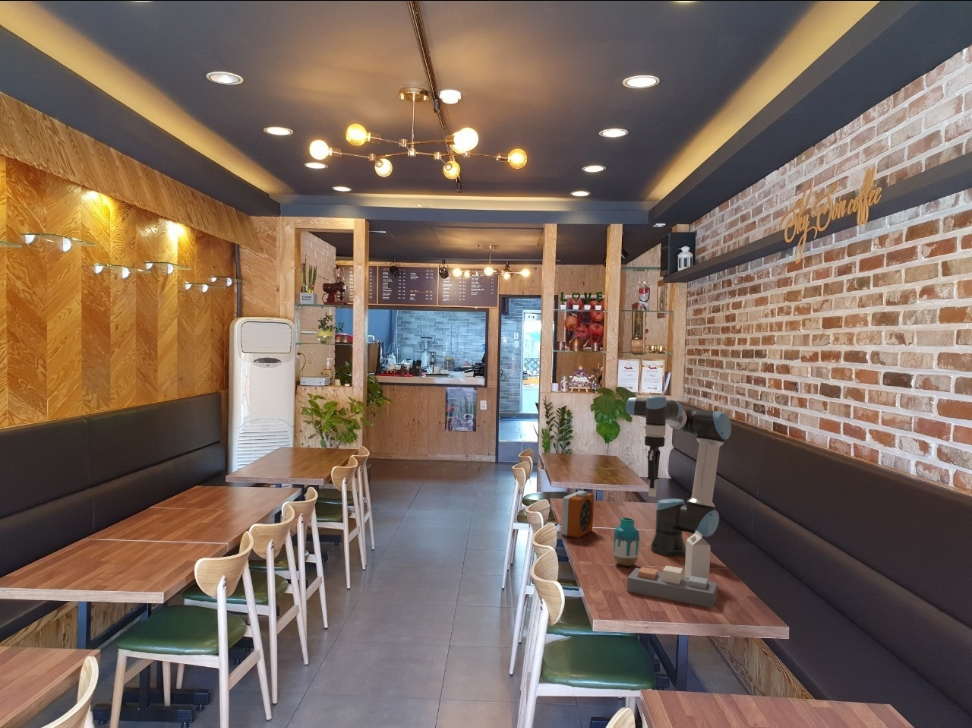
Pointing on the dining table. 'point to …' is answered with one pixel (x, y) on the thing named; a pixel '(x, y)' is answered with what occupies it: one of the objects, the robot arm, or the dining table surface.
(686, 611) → the dining table surface
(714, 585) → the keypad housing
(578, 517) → the alarm clock
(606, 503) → the dining table surface
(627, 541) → the vase
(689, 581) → the key slate
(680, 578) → the key ivory
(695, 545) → the milk carton
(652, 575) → the key rust
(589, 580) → the dining table surface
